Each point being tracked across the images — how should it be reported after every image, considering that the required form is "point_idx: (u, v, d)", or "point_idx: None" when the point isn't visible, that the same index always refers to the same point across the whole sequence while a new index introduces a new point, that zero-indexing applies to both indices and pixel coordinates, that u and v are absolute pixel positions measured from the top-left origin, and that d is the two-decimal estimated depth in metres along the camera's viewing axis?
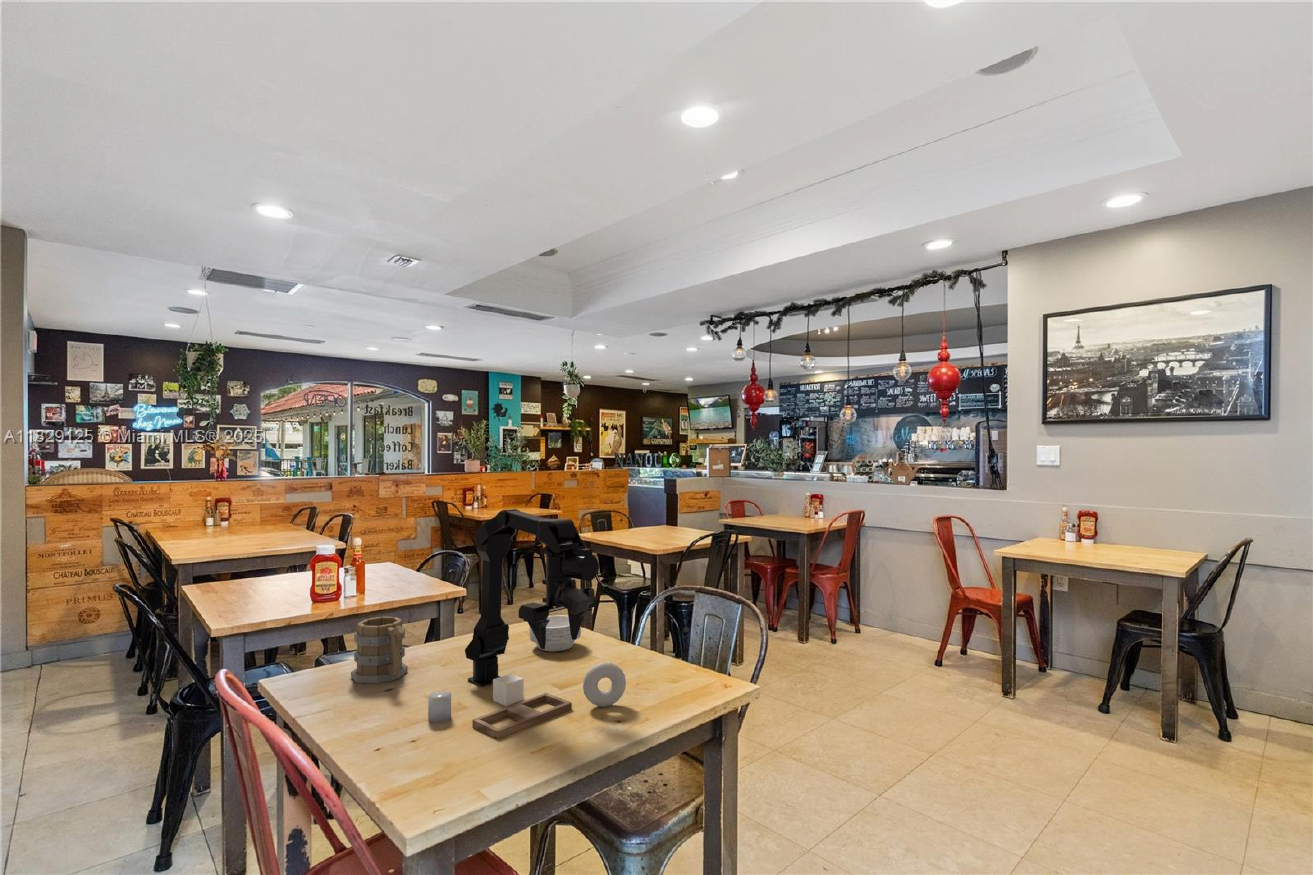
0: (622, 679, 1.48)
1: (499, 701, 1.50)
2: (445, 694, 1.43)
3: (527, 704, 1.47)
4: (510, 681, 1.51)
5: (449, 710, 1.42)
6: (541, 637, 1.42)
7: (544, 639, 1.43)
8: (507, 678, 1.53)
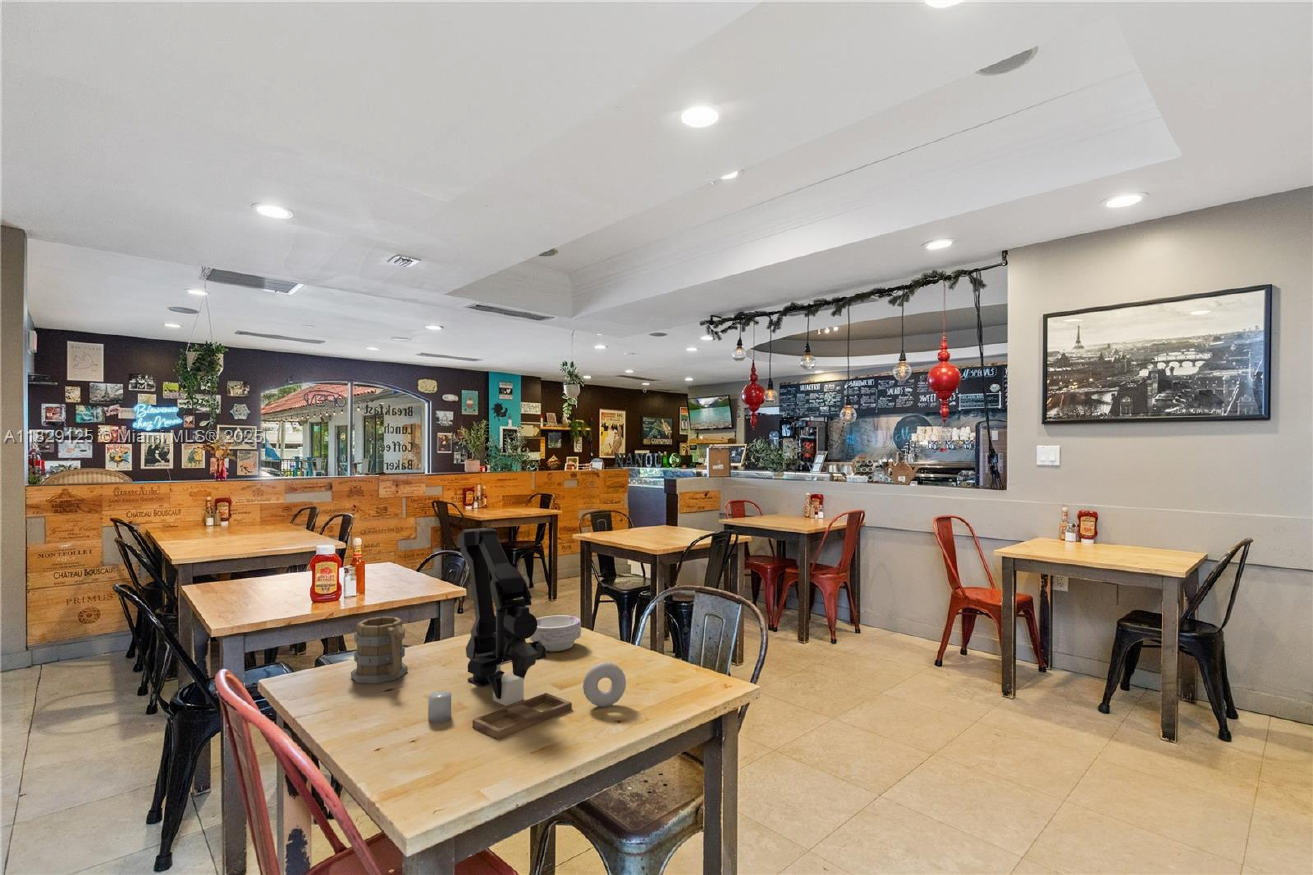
0: (622, 679, 1.48)
1: (499, 700, 1.50)
2: (445, 694, 1.43)
3: (527, 704, 1.47)
4: (510, 680, 1.51)
5: (449, 710, 1.42)
6: (497, 688, 1.49)
7: (500, 690, 1.50)
8: (507, 678, 1.53)
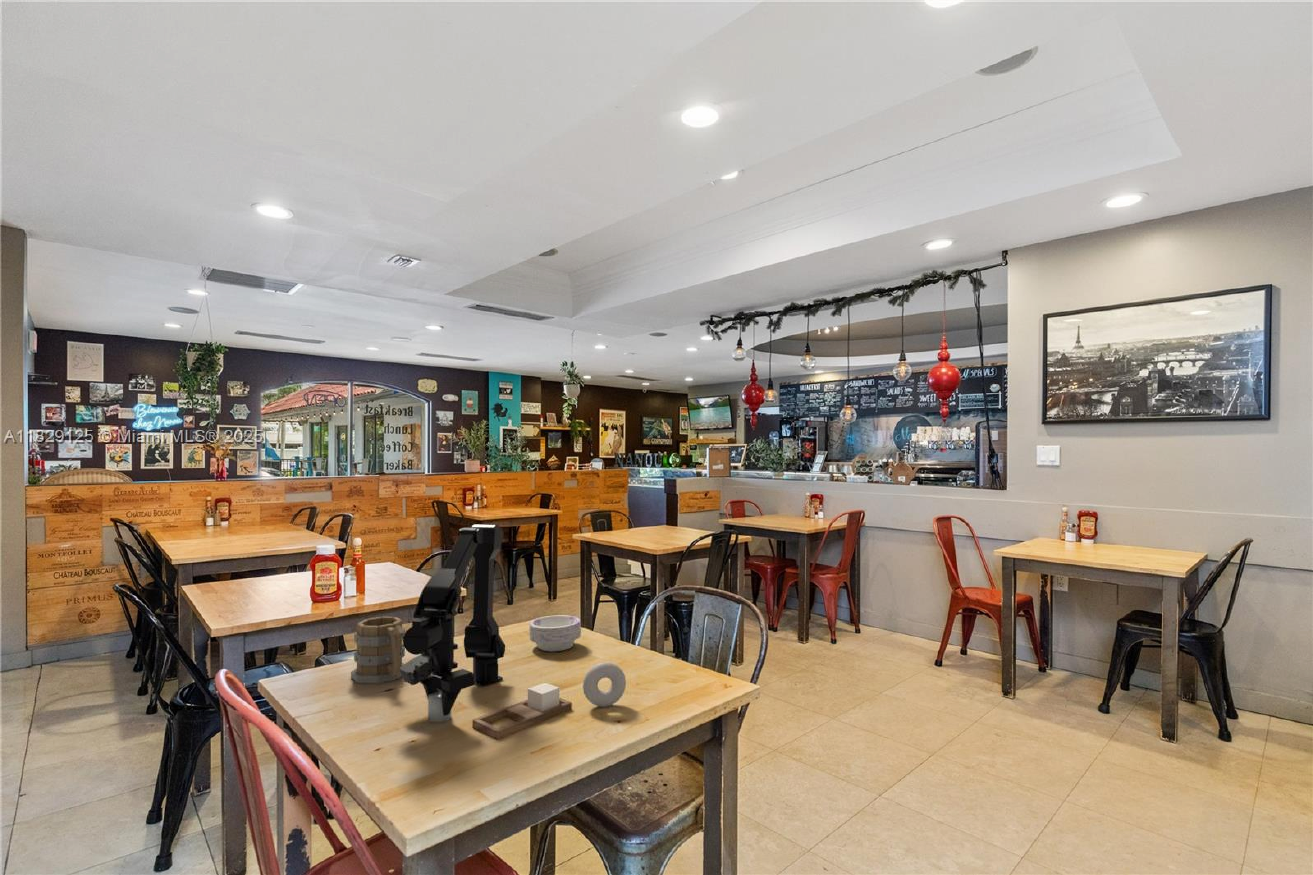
0: (622, 679, 1.48)
1: None
2: None
3: (527, 704, 1.47)
4: (546, 690, 1.45)
5: None
6: None
7: None
8: (542, 687, 1.47)
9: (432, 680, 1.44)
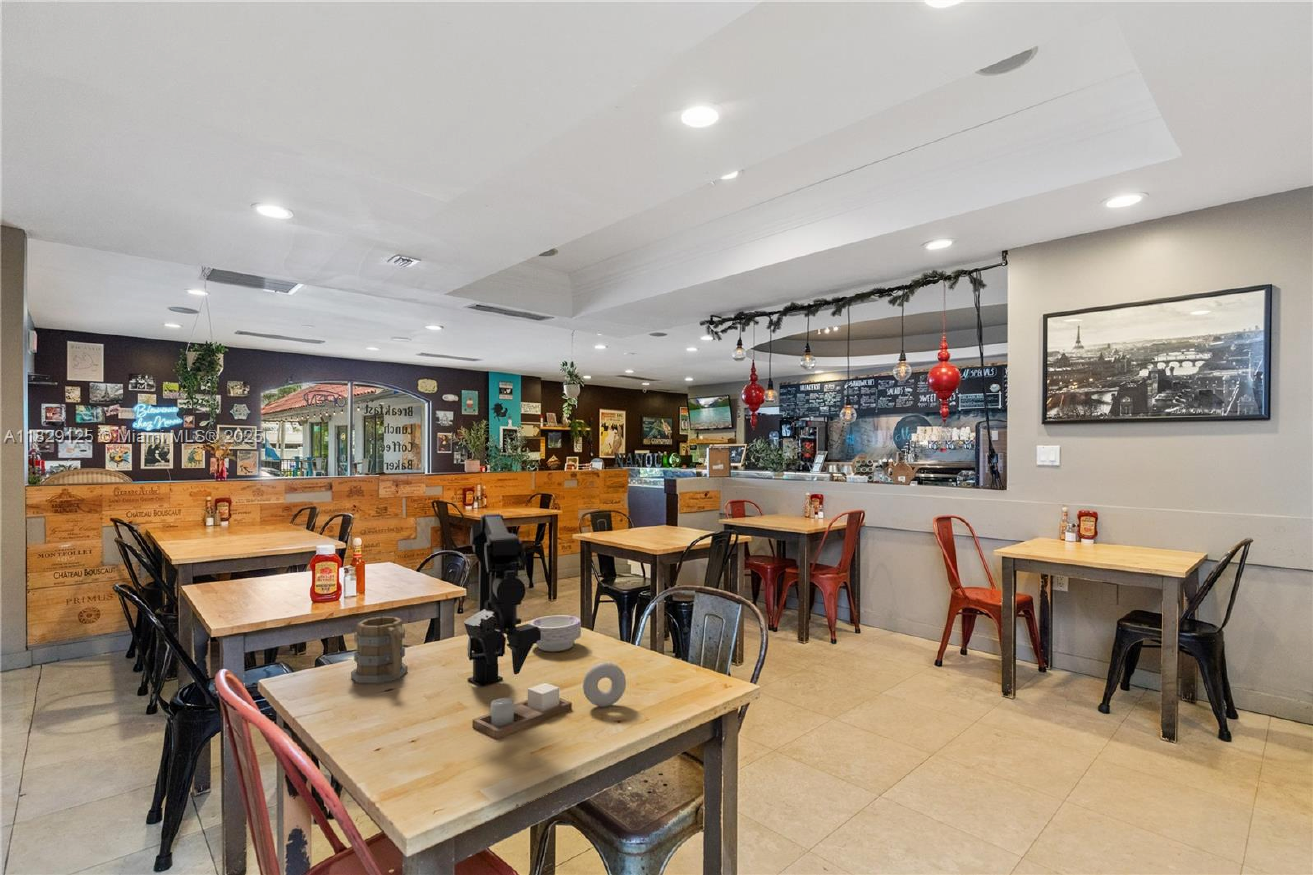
0: (622, 679, 1.48)
1: None
2: (508, 701, 1.38)
3: (527, 704, 1.47)
4: (546, 690, 1.45)
5: (512, 718, 1.37)
6: None
7: (485, 654, 1.41)
8: (542, 687, 1.47)
9: (489, 635, 1.42)
